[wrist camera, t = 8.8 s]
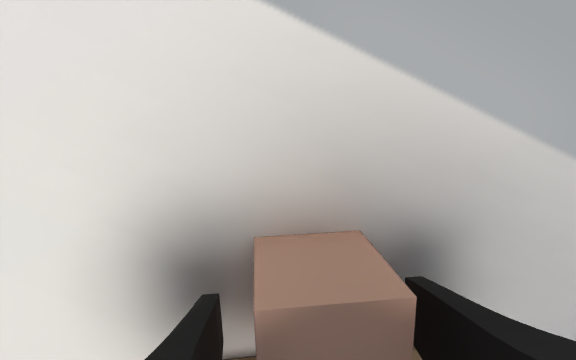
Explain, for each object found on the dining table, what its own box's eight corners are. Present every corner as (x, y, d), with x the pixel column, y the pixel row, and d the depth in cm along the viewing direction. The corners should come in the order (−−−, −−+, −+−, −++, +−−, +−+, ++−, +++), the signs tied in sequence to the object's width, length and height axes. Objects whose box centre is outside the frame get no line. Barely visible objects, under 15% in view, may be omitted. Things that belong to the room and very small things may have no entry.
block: (359, 230, 14) (416, 297, 9) (356, 321, 15) (407, 426, 10) (254, 236, 13) (253, 310, 8) (258, 330, 14) (260, 444, 9)
